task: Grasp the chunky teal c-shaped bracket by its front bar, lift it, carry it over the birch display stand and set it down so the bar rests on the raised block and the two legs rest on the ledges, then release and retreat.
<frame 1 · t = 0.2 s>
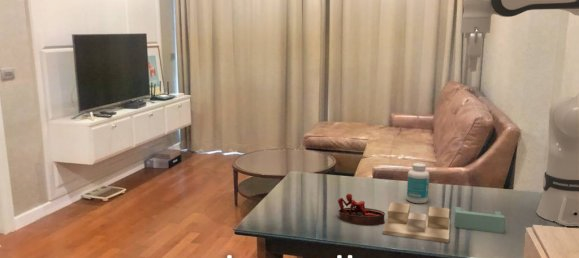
hand: (472, 70, 159), 47 cm above the table, fingers open, 8 cm apart
display stand: (417, 228, 150), on the table
pill bottle: (417, 201, 174), on the table
figurine: (360, 220, 157), on the table
teal c-shaped bracket: (478, 229, 149), on the table
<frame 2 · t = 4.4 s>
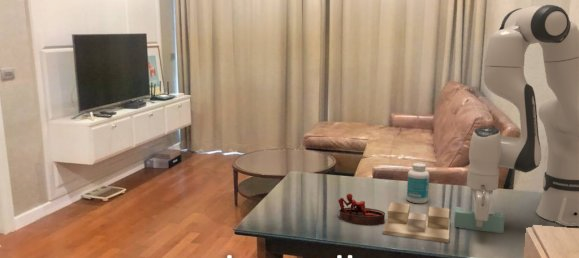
hand: (478, 223, 149), 2 cm above the table, fingers closed on teal c-shaped bracket
teal c-shaped bracket: (478, 229, 149), on the table, touching gripper
everything else where it was.
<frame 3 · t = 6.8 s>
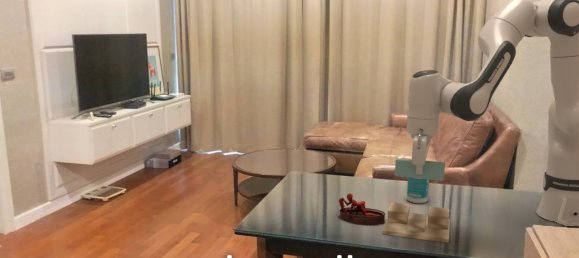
hand: (419, 172, 143), 19 cm above the table, fingers closed on teal c-shaped bracket
teal c-shaped bracket: (419, 177, 144), point 17 cm above the table, touching gripper
everything else where it was.
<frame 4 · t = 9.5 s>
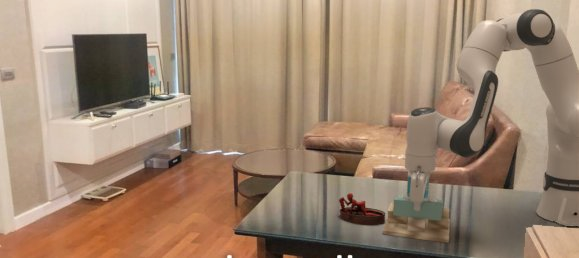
hand: (417, 206, 146), 8 cm above the table, fingers open, 4 cm apart
teal c-shaped bracket: (416, 216, 146), point 5 cm above the table, touching display stand
everything else where it was.
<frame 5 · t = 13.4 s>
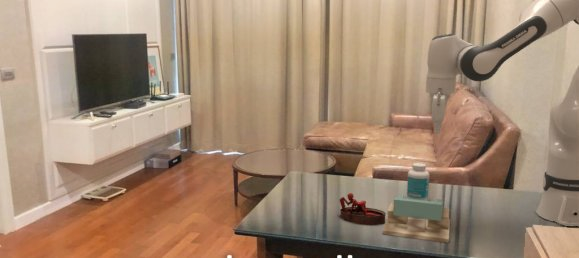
hand: (437, 130, 153), 29 cm above the table, fingers open, 8 cm apart
nothing on the table moved.
at the end: teal c-shaped bracket 0.2 cm from the target spot on the display stand, point 5.0 cm above the display stand's base; teal c-shaped bracket tilted 0°; the gripper is holding nothing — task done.
